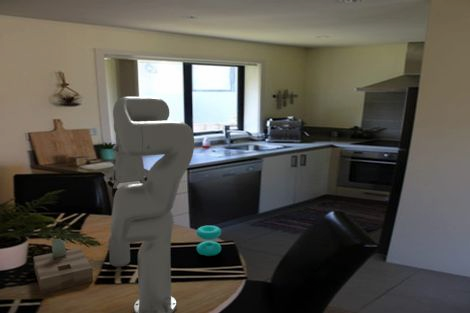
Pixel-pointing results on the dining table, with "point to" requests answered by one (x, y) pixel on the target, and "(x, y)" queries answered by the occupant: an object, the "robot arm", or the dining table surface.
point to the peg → (58, 249)
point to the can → (118, 253)
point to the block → (62, 270)
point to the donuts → (208, 246)
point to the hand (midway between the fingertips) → (129, 196)
